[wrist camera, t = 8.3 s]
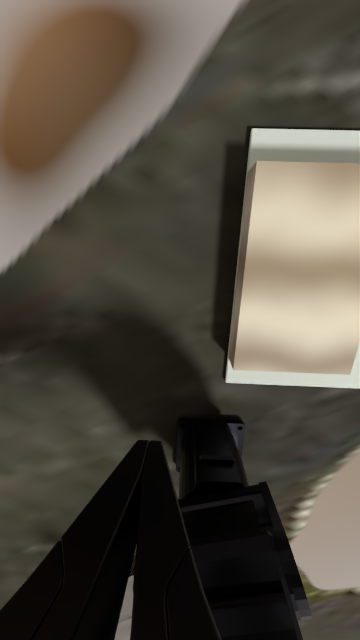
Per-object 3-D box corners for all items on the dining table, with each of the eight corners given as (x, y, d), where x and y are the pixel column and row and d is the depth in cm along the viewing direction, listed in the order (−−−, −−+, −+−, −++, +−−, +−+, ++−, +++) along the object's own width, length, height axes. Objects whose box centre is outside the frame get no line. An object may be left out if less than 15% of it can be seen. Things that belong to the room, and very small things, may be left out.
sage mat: (436, 389, 20) (441, 391, 20) (225, 380, 21) (225, 382, 20) (543, 137, 15) (553, 134, 14) (250, 131, 15) (252, 128, 15)
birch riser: (330, 359, 20) (350, 374, 17) (227, 355, 20) (233, 370, 18) (376, 177, 16) (410, 164, 13) (246, 174, 16) (256, 160, 13)
